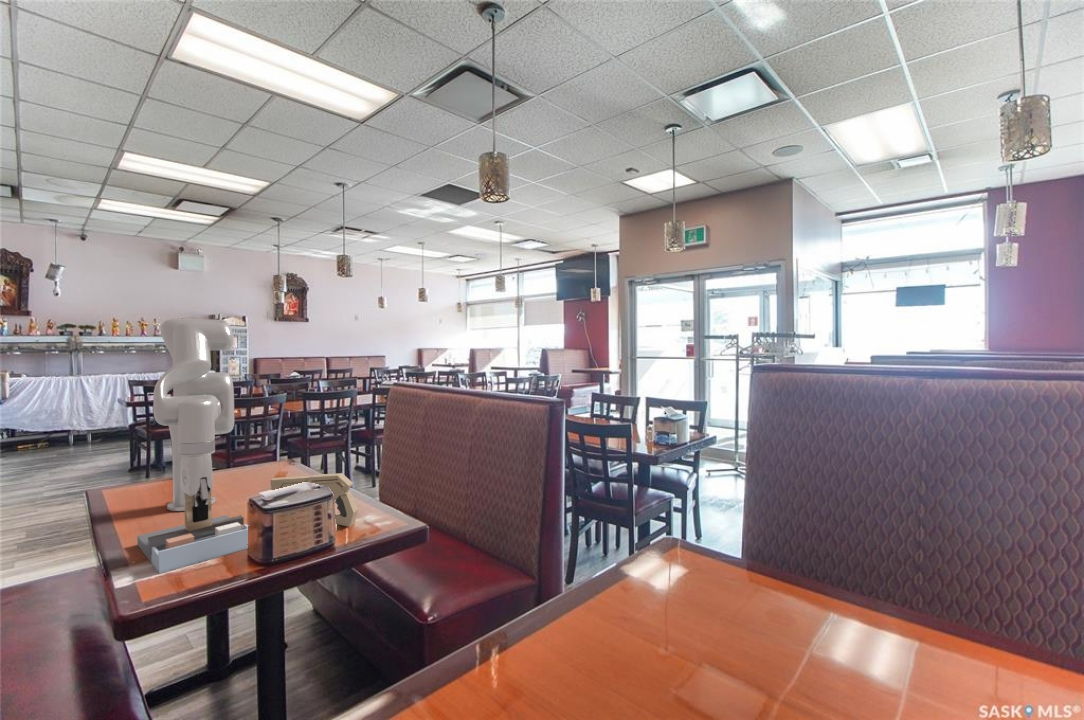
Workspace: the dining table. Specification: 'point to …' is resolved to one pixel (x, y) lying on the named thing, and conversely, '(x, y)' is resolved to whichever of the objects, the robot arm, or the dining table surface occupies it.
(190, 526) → the scraper
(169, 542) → the tile terracotta
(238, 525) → the tile cream
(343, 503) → the gun
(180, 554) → the box
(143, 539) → the board
